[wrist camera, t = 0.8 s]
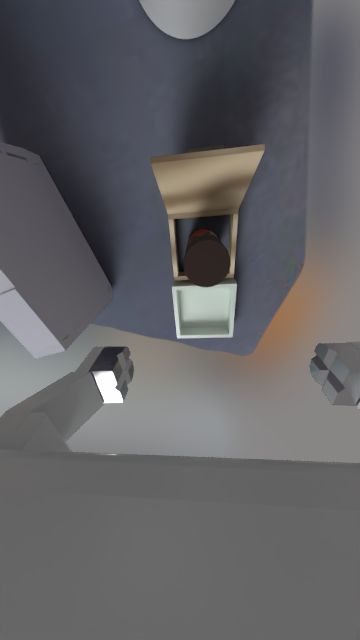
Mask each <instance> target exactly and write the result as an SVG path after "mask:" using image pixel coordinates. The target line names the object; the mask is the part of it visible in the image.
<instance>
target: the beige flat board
mask: <svg viewBox="0 0 360 640" xmlns="http://www.w3.org/2000/svg"><path fill="white" fill-rule="evenodd" d="M264 147H265V144H261V145H253V146H244V147H236V148H227V149H225V144H223V145H214V146H206V147H198V148H189V149H186V153H185V154H176V155H168V156H159V157H151V158H150V160H151V166H152V169H153V172H154V175H155V178H156V181H157V184H158V187H159V189H160V192H161V195H162V198H163V201H164V204H165V207H166V210H167V213H168V214H176V213H188V212H199V211H211V210H222V209H234V208H239V207H240V205H241V203H242V200H243V198H244V196H245V193H246V191H247V189H248V187H249V184H250V182H251V180H252V178H253V175H254V173H255V171H256V169H257V166H258V164H259V162H260V160H261V157H262V155H263V153H264Z"/></svg>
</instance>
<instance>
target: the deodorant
mask: <svg viewBox="0 0 360 640" xmlns="http://www.w3.org/2000/svg"><path fill="white" fill-rule="evenodd" d="M230 266H231V259H230V255H229V252H228V251H227V249H226V248H225V246H224V245H223V244H222V243H221V241H220V240H219V239H218V237H217V236H216V235H215V234H214V233H213V232H212V231H211V230H209V229H204V228H202V229H198V230H196V231H195V232H193V233H192V234H191V236H190V237H189V240H188V243H187V248H186V253H185V257H184V272H185V274H186V276H187V278H188V279H189V280H190V281H191V282H192V283H193V284H195V285H197V286H200V287H212V286H215V285H217V284H219V283H220V282H222V281H223V280H224V279H225V277H226V276H227V274H228V272H229V270H230Z"/></svg>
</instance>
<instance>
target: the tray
mask: <svg viewBox="0 0 360 640" xmlns="http://www.w3.org/2000/svg"><path fill="white" fill-rule="evenodd" d="M236 290H237V283H236V281H235V279H234V278H225V279H224V280H223V281H222V282H220V283H219V284H217V285H215V286H212V287H200V286H197V285H195V284H193V283H192V282H191V281H190V280H176V281H173V285H172V293H173V303H174V312H175V322H176V332H177V338H215V337H233V327H234V314H235V302H236Z"/></svg>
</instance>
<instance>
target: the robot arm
mask: <svg viewBox="0 0 360 640" xmlns="http://www.w3.org/2000/svg"><path fill="white" fill-rule="evenodd" d="M139 1H140V3H141V5H142V7H143V9H144V10H145V12H146V13H147V15H148V16H149V18H150V19H151V20H152V21H153V23H154V24H155V25H156V26H157V27H158V28H159V29H161V30H162V31H163V32H165V33H166V34H168V35H170V36H172V37H175V38H179V39H193V38H197V37H199V36H202V35H204V34H206V33H207V32H209V31H210V30H212V29H213V28H214V27H215V26H216V25H217V24H218V23H219V22H220V21H221V20H222V19H223V18H224V17H225V15H226V14H227V13H228V11H229V10H230V8H231V7H232V5H233V3H234V2H235V0H139ZM315 353H316V356H315V357H314V358H312V359H311V362H310V373H311V375H312V377H313V379H314V380H315V381H316V382H317V383H319V384H320V385H322V386H323V387H322V391H323V393H324V394H325V396H326V397H327V398H328V400H329V401H330V403H331V404H332V405H348V406H357V408H359V409H360V342H347V343H319V344H318V345H317V346H316V348H315ZM129 356H130V351H129V348H128V347H94V348H93V349H92V350H91V352H90V353H89V354H88V355H87V357H86V358H85V360H84V361H83V362H82V364H81V365H80V366H79V367H78V369H77V370H76V371H75V372H71V373H69V374H68V375H66V376H64V377H63V378H61V379H59V380H57V381H56V382H54V383H52V384H51V385H49V386H47V387H46V388H44V389H42V390H41V391H39V392H37V393H36V394H34V395H32V396H31V397H29V398H27V399H26V400H24V401H22V402H21V403H19V404H17V405H15V406H14V407H12V408H11V409H9V410H7V411H6V412H5V413H4V414H3V415H2V416H1V417H0V640H360V463H341V462H315V461H291V460H265V459H240V458H214V457H188V456H161V455H137V454H109V453H85V452H72V450H71V448H70V447H69V445H68V444H67V443H66V441H67V440H68V439H69V438H70V437H71V436H72V435H73V434H74V433H75V432H76V431H77V430H78V429H79V428H80V427H81V426H82V425H83V424H84V423H85V422H86V421H87V420H88V419H89V418H90V417H91V416H92V415H93V414H94V413H95V412H96V411H97V410H99V408H100V407H101V406H102V405H104V403H115V402H116V403H119V402H124V399H125V396H126V394H127V391H128V387H127V384H129V383H130V382H131V381H132V378H133V372H134V366H133V361H132V360H130V359H129Z"/></svg>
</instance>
